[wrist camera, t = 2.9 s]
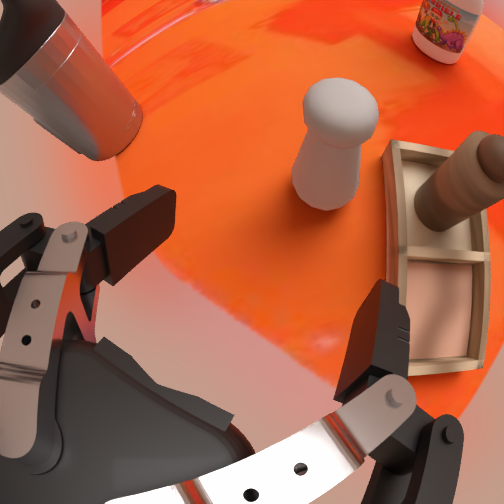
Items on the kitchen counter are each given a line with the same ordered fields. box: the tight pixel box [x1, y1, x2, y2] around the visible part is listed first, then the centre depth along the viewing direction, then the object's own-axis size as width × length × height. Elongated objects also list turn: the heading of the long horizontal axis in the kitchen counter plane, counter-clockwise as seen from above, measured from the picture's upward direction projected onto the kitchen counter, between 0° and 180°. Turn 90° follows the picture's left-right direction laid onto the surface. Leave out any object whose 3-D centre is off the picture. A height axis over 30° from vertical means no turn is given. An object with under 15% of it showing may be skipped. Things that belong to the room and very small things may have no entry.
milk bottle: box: [412, 0, 484, 64], centre depth 17 cm, size 8×8×20 cm
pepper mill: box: [414, 131, 504, 232], centre depth 17 cm, size 5×5×12 cm
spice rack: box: [382, 140, 491, 376], centre depth 21 cm, size 10×20×3 cm, turn 175°
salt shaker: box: [292, 78, 379, 211], centre depth 19 cm, size 6×6×13 cm
